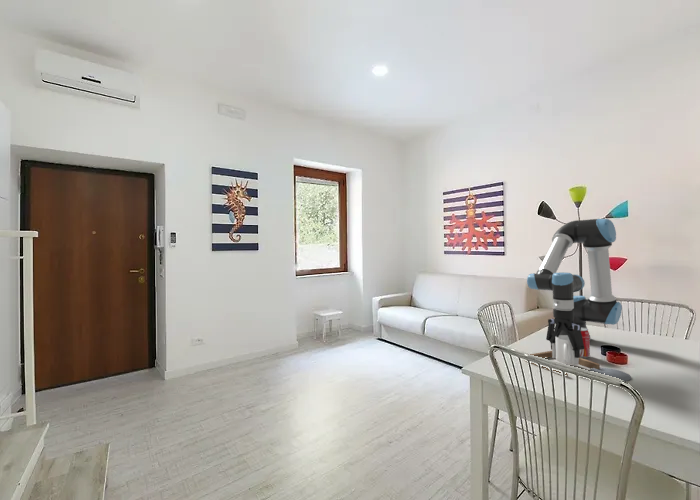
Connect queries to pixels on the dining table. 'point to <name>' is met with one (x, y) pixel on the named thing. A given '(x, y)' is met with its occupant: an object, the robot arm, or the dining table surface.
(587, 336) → the soda can
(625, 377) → the coaster
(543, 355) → the cradle
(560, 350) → the mug
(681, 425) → the dining table surface
